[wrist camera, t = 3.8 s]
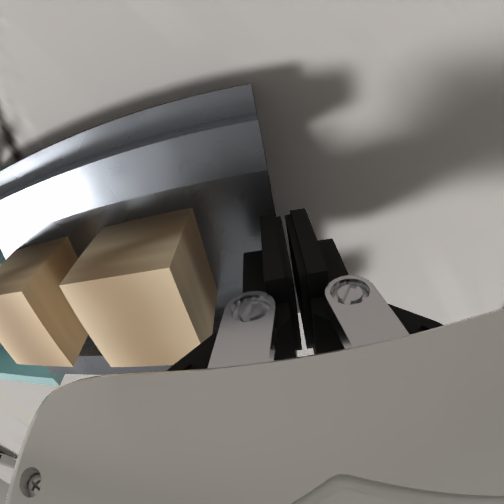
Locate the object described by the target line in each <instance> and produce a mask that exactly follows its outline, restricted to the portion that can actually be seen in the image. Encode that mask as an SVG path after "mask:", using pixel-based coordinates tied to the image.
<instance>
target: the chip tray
mask: <svg viewBox="0 0 504 504" xmlns="http://www.w3.org/2000/svg"><path fill="white" fill-rule="evenodd" d="M5 260H6V258H5V256H4V254H3V252H2V250H1V248H0V265H1V264H2V263H3V262H4V261H5ZM64 375H65V373H50V372H49V371H48V369H47V368H46V367H45V366H39V365H24V364H17V363H16V362H15V361H14V360H13V358H12V357H11V356H10V355H9V353H8V352H7V351H6V349H5V348H4V347H3V346H2V344H1V343H0V379H5V380H12V381H19V382H27V383H35V384H45V385H55V386H60V384H61V381H62V379H63V377H64Z"/></svg>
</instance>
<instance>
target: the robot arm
mask: <svg viewBox="0 0 504 504" xmlns="http://www.w3.org/2000/svg"><path fill="white" fill-rule="evenodd" d="M259 217H260V231H261V245H262V250H259V251H253V252H246V253H244V254H243V292H242V294H239V295H237V296H236V297H234V298H232V299H231V300H230V301H229V302H228V303H227V305H226V307H225V310H224V313H223V317H222V320H221V323H220V327H219V330H217V331H216V332H215V333H214V334H212V335H211V336H210V337H208V338H207V339H206V340H205V341H203V342H202V343H201V344H199V345H198V346H197V347H196V348H194V349H193V350H192V351H190V352H189V353H188V354H187V355H185V356H184V357H183V358H181V359H180V360H179V361H178V362H176V363H175V364H174V365H172V366H171V367H170V368H169V369H168V370H167V371H165V372H145V373H129V374H110V375H102V376H94V377H90V378H85V379H80V380H77V381H74V382H72V383H69V384H66V385H64V386H62V387H59V388H58V389H56V390H54V391H52V392H51V393H50V394H49V395H48V396H47V397H46V398H45V400H44V401H43V402H42V404H41V405H40V407H39V408H38V410H37V412H36V414H35V416H34V418H33V420H32V422H31V424H30V426H29V428H28V431H27V433H26V436H25V438H24V441H23V444H22V446H21V449H20V452H19V455H18V458H17V461H16V464H15V467H14V471H13V475H12V478H11V482H10V486H9V490H8V494H7V499H6V503H5V504H504V308H502V309H498V310H495V311H492V312H488V313H485V314H481V315H478V316H474V317H471V318H467V319H464V320H461V321H458V322H454V323H451V324H447V325H442V324H440V323H438V322H436V321H433V320H431V319H428V318H425V317H423V316H420V315H417V314H414V313H412V312H409V311H406V310H403V309H401V308H398V307H395V306H393V305H390V304H387V302H386V301H385V300H384V298H383V297H382V296H381V294H380V293H379V292H378V290H377V289H376V288H375V286H374V285H373V284H372V283H371V282H370V281H369V280H367V279H365V278H363V277H360V276H355V275H348V272H347V270H346V268H345V266H344V263H343V261H342V259H341V256H340V254H339V252H338V250H337V248H336V245H335V243H334V241H333V239H326V240H320V241H317V239H316V236H315V234H314V231H313V228H312V226H311V223H310V220H309V218H308V215H307V213H306V210H305V208H303V209H297V210H291V211H290V215H285V219H286V226H287V233H288V239H289V246H290V253H291V260H292V268H293V275H294V281H295V287H296V292H297V297H298V302H299V308H300V313H301V318H302V324H303V329H304V335H305V340H306V346H307V349H308V348H313V350H314V355H309V356H303V357H296V350H302V345H301V337H300V329H299V321H298V313H297V305H296V297H295V290H294V283H293V276H292V271H291V266H290V261H289V256H288V251H287V246H286V241H285V236H284V231H283V226H282V221H281V217H280V216H278V217H274V213H273V214H267V215H261V216H259Z"/></svg>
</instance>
